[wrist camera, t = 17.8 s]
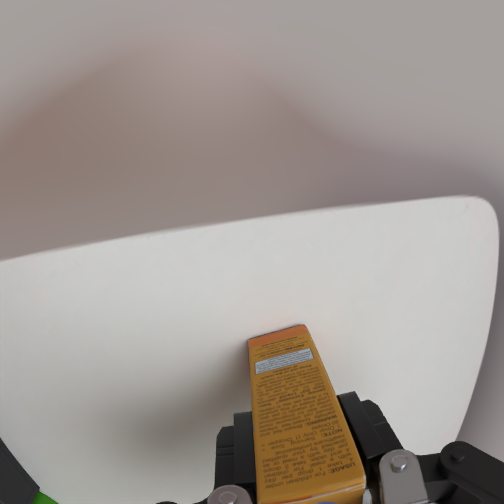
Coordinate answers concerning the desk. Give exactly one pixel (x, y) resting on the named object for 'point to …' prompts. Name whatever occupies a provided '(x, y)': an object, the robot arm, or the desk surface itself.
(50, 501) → the green ring bracket
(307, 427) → the supplement box
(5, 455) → the tray
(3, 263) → the desk surface
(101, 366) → the desk surface
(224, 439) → the robot arm
